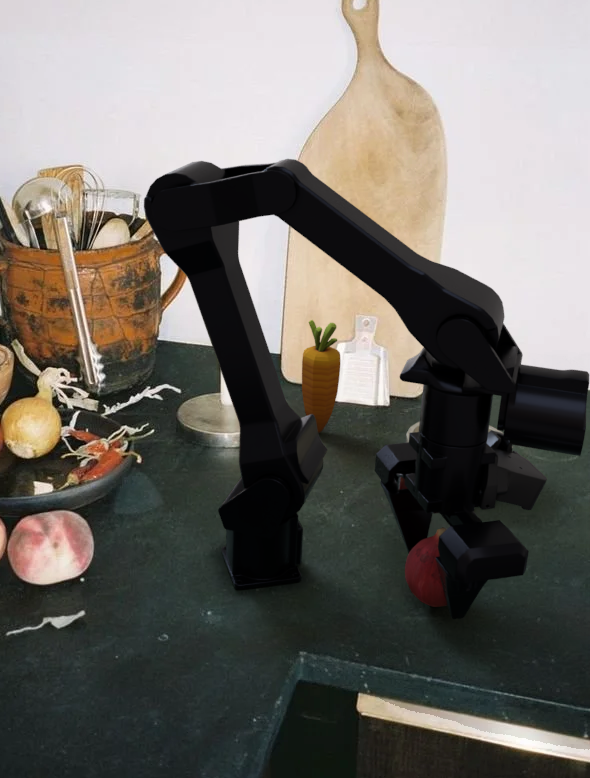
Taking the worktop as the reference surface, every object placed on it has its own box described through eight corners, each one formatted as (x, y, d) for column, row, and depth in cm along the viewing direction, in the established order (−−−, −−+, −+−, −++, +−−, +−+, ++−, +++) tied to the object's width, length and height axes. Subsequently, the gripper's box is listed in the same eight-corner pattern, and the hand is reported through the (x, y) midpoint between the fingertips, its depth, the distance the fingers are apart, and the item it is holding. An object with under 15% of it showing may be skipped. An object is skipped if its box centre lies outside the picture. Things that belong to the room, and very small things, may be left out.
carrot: (291, 426, 119) (296, 315, 113) (328, 422, 120) (334, 312, 115) (305, 444, 114) (311, 329, 109) (343, 439, 116) (351, 325, 110)
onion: (466, 630, 82) (476, 553, 79) (400, 620, 83) (407, 544, 80) (465, 591, 88) (474, 517, 85) (403, 582, 89) (410, 509, 86)
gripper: (601, 477, 72) (571, 641, 78) (488, 380, 89) (470, 521, 95) (469, 491, 70) (448, 660, 75) (378, 389, 87) (367, 533, 92)
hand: (435, 586), depth 85 cm, fingers open, 9 cm apart
